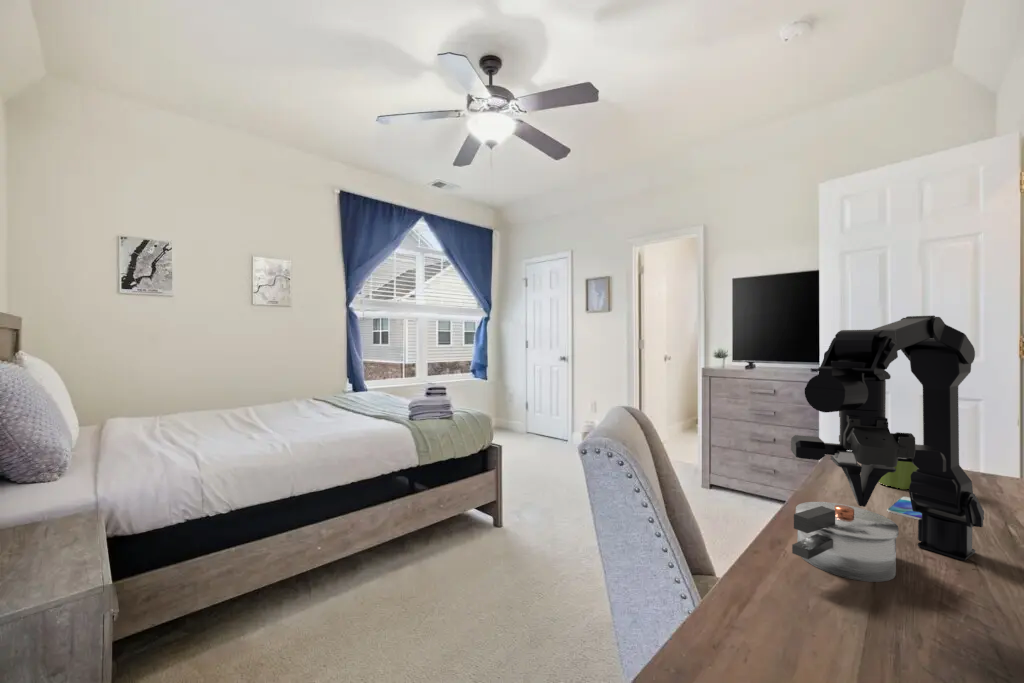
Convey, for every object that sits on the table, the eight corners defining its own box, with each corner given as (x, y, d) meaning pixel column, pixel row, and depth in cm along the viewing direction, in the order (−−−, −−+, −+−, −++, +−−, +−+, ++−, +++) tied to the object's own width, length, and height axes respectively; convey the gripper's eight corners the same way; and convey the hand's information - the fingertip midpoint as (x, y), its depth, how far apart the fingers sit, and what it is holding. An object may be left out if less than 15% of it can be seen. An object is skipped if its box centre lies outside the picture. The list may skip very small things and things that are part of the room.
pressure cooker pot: (827, 533, 90) (827, 501, 90) (916, 563, 78) (916, 526, 78) (757, 565, 77) (757, 527, 77) (850, 606, 65) (851, 562, 65)
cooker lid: (823, 502, 89) (823, 485, 89) (915, 530, 76) (915, 510, 76) (758, 520, 80) (758, 501, 80) (850, 556, 67) (850, 533, 67)
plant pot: (910, 495, 112) (910, 451, 112) (858, 481, 123) (858, 441, 123) (935, 489, 117) (935, 446, 117) (882, 476, 128) (883, 437, 128)
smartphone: (941, 504, 105) (928, 520, 96) (941, 508, 105) (928, 524, 96) (901, 495, 111) (885, 509, 102) (901, 498, 111) (885, 513, 102)
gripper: (802, 411, 67) (802, 514, 67) (966, 421, 60) (965, 537, 60) (790, 402, 77) (790, 491, 77) (929, 409, 70) (928, 508, 70)
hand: (861, 505), depth 71 cm, fingers closed
